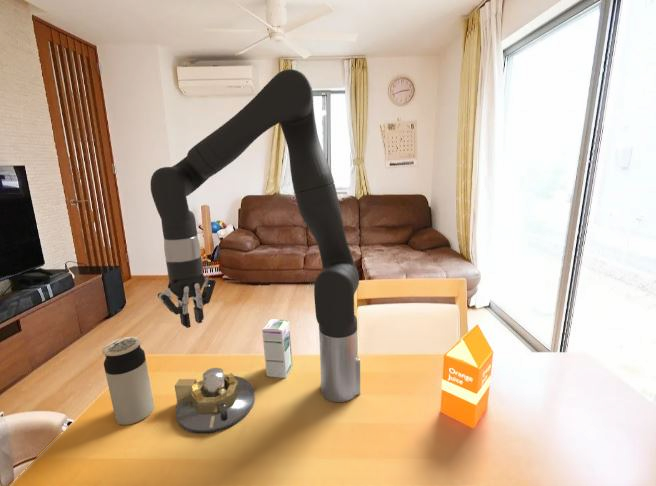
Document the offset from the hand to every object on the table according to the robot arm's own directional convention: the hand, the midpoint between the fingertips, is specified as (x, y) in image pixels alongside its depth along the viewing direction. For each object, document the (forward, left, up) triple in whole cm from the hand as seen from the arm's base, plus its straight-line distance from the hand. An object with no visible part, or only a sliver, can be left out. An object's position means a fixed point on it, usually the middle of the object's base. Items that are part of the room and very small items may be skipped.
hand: (193, 324), depth 81 cm
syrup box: (-20, -3, -19) cm, 28 cm away
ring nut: (-2, +5, -17) cm, 18 cm away
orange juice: (-60, +23, -19) cm, 67 cm away
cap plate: (-4, +6, -19) cm, 20 cm away
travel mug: (+15, +4, -19) cm, 24 cm away
